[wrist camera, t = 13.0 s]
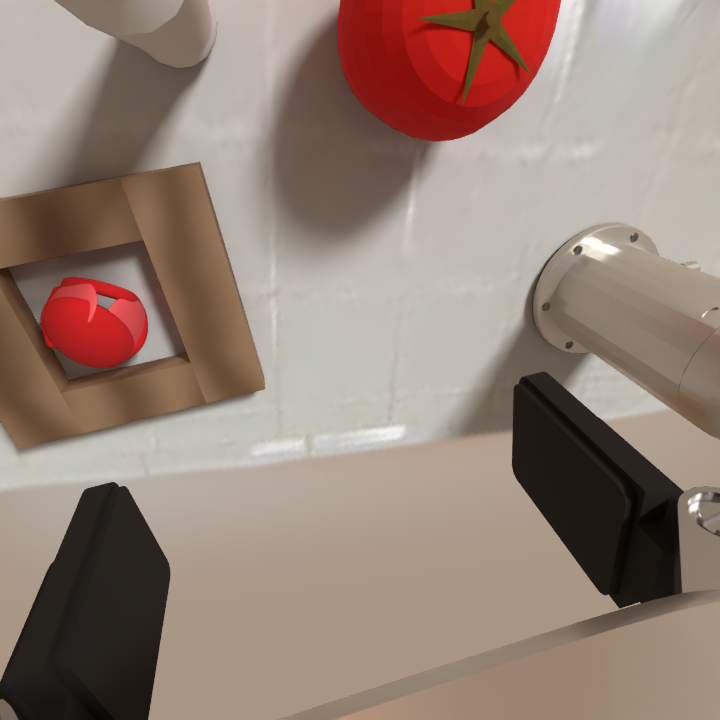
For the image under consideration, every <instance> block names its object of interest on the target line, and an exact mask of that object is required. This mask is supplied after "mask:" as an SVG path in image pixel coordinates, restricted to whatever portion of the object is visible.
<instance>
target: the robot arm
mask: <svg viewBox="0 0 720 720" xmlns="http://www.w3.org/2000/svg"><path fill="white" fill-rule="evenodd" d="M533 314H534V320H535V323H536V326H537V329H538V330H539V332H540V333H541V335H542V337H544V338H545V339H546V340H547V341H548V342H549V343H550V344H552V345H553V346H555V347H556V348H558V349H560V350H562V351H565V352H570V353H588V352H592V353H593V354H595V355H596V356H597V357H599V358H600V359H602V360H603V361H604V362H606V363H607V364H609V365H610V366H612V367H613V368H614V369H616V370H617V371H619V372H620V373H621V374H623V375H624V376H626V377H627V378H629V379H630V380H631V381H633V382H634V383H636V384H637V385H638V386H640V387H641V388H643V389H644V390H646V391H647V392H648V393H650V394H651V395H653V396H654V397H655V398H657V399H658V400H660V401H661V402H663V403H664V404H665V405H667V406H668V407H670V408H671V409H673V410H674V411H675V412H677V413H678V414H680V415H681V416H682V417H684V418H685V419H687V420H688V421H690V422H691V423H692V424H694V425H695V426H697V427H698V428H700V429H701V430H703V431H704V432H706V433H708V434H709V435H711V436H713V437H715V438H717V439H719V440H720V278H717V277H715V276H712V275H709V274H706V273H704V272H701V271H700V265H699V263H697V262H696V261H691V262H687V263H682V264H679V263H676V262H673V261H670V260H667V259H665V258H662V257H659V253H658V251H657V248H656V246H655V244H654V242H653V241H652V240H651V238H650V237H649V236H648V235H647V234H645V233H644V232H643V231H641V230H639V229H636V228H634V227H631V226H628V225H623V224H619V223H617V224H603V225H599V226H595V227H592V228H590V229H588V230H585V231H583V232H581V233H580V234H578V235H576V236H575V237H573V238H572V239H570V240H569V241H568V242H567V243H566V244H565V245H563V246H562V247H561V248H560V249H559V250H558V251H557V253H556V254H555V255H554V256H553V257H552V258H551V259H550V261H549V263H548V264H547V266H546V267H545V269H544V270H543V272H542V274H541V277H540V279H539V281H538V283H537V287H536V290H535V294H534V301H533ZM512 449H513V450H512V468H513V472H514V475H515V477H516V479H517V480H518V482H519V483H520V484H521V486H522V487H523V488H524V490H525V491H526V493H527V494H528V495H529V497H530V498H531V499H532V501H533V502H534V504H535V505H536V506H537V508H538V509H539V510H540V512H541V513H542V514H543V516H544V517H545V519H546V520H547V521H548V523H549V524H550V525H551V526H552V528H553V529H554V531H555V532H556V533H557V535H558V536H559V537H560V539H561V540H562V542H563V543H564V544H565V546H566V547H567V549H568V550H569V551H570V552H571V554H572V555H573V557H574V558H575V559H576V561H577V562H578V564H579V565H580V566H581V568H582V569H583V570H584V572H585V573H586V574H587V576H588V577H589V579H590V580H591V581H592V583H593V584H594V585H595V587H596V588H597V589H598V590H599V592H600V593H602V594H603V595H608V594H609V595H610V597H611V598H612V599H613V601H614V602H615V603H616V604H617V606H618V607H619V608H622V607H626V606H629V605H632V604H635V603H638V602H640V603H641V604H638V605H635V606H631V607H628V608H625V609H621V610H618V611H615V612H611V613H608V614H604V615H601V616H598V617H595V618H591V619H588V620H584V621H581V622H578V623H575V624H572V625H568V626H565V627H562V628H559V629H556V630H553V631H550V632H547V633H543V634H540V635H537V636H534V637H531V638H528V639H525V640H521V641H518V642H515V643H512V644H509V645H506V646H503V647H500V648H496V649H493V650H490V651H487V652H484V653H481V654H478V655H474V656H471V657H468V658H465V659H462V660H459V661H456V662H453V663H450V664H447V665H444V666H441V667H438V668H435V669H431V670H428V671H425V672H422V673H419V674H416V675H413V676H410V677H407V678H404V679H400V680H398V681H394V682H392V683H389V684H385V685H382V686H379V687H376V688H373V689H370V690H367V691H364V692H361V693H358V694H355V695H351V696H349V697H345V698H342V699H339V700H336V701H333V702H330V703H327V704H324V705H321V706H318V707H315V708H312V709H309V710H306V711H303V712H300V713H297V714H294V715H291V716H288V717H285V718H282V719H279V720H720V488H717V487H709V486H703V487H694V488H691V489H689V490H686V491H685V492H684V491H682V490H681V489H680V488H679V487H678V486H677V485H676V484H675V483H673V482H672V481H671V480H670V479H669V478H668V477H666V476H665V475H664V474H663V473H662V472H661V471H660V470H659V469H657V468H656V467H655V466H654V465H653V464H651V462H649V461H648V460H647V459H646V458H645V457H644V456H642V455H641V454H640V453H639V452H638V451H637V450H636V449H634V448H633V447H632V446H631V445H630V444H629V443H628V442H626V441H625V440H624V439H623V438H622V437H621V436H620V435H618V434H617V433H616V432H615V431H614V430H613V429H612V428H611V427H609V426H608V425H607V424H606V423H605V422H604V421H603V420H601V419H600V418H598V417H597V416H596V415H595V414H593V413H592V412H591V411H590V410H589V409H588V408H587V407H586V406H584V405H583V404H582V403H581V402H580V401H579V400H578V399H576V398H575V397H574V396H573V395H572V394H571V393H570V392H568V391H567V390H566V389H565V388H564V387H563V386H562V385H560V384H559V383H558V382H557V381H556V380H555V379H554V378H552V377H551V376H550V375H549V374H548V373H546V372H540V373H536V374H532V375H528V376H525V377H522V378H521V379H520V381H519V384H517V385H515V387H514V400H513V446H512ZM169 582H170V567H169V563H168V561H167V559H166V557H165V555H164V553H163V552H162V550H161V548H160V546H159V544H158V543H157V541H156V539H155V537H154V535H153V533H152V532H151V530H150V528H149V526H148V525H147V523H146V521H145V519H144V517H143V515H142V514H141V512H140V510H139V508H138V506H137V505H136V503H135V501H134V499H133V497H132V495H131V494H130V492H129V490H128V489H127V487H125V486H122V487H119V486H118V484H116V483H115V482H111V483H107V484H103V485H99V486H95V487H91V488H87V489H86V490H84V492H83V493H82V496H81V498H80V500H79V503H78V505H77V508H76V510H75V512H74V515H73V517H72V520H71V522H70V524H69V527H68V529H67V531H66V534H65V536H64V539H63V541H62V544H61V546H60V548H59V551H58V553H57V555H56V558H55V560H54V562H53V563H52V564H51V565H50V567H49V569H48V570H47V573H46V575H45V577H44V580H43V582H42V584H41V587H40V589H39V592H38V594H37V596H36V599H35V601H34V603H33V606H32V608H31V610H30V613H29V615H28V618H27V620H26V622H25V625H24V627H23V629H22V632H21V634H20V637H19V639H18V642H17V643H16V646H15V648H14V651H13V653H12V656H11V658H10V660H9V662H8V665H7V667H6V670H5V672H4V674H3V677H2V679H1V681H0V720H148V715H149V710H150V703H151V697H152V691H153V684H154V678H155V671H156V665H157V659H158V653H159V646H160V640H161V633H162V627H163V621H164V614H165V608H166V601H167V595H168V589H169Z"/></svg>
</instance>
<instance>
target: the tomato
mask: <svg viewBox="0 0 720 720" xmlns="http://www.w3.org/2000/svg"><path fill="white" fill-rule="evenodd" d="M560 4H561V0H341V1H340V8H339V16H338V23H337V34H338V52H339V56H340V60H341V65H342V69H343V73H344V75H345V77H346V79H347V81H348V83H349V85H350V88H351V90H352V92H353V93H354V94H355V96H356V97H357V98H358V99H359V100H360V102H361V103H362V104H363V105H364V106H365V108H367V109H368V110H369V111H370V112H372V113H373V114H374V115H376V116H377V117H378V118H379V119H381V120H382V121H384V122H385V123H387V124H388V125H390V126H391V127H393V128H394V129H396V130H398V131H400V132H402V133H404V134H406V135H408V136H411V137H414V138H419V139H424V140H430V141H446V140H454V139H458V138H461V137H464V136H467V135H469V134H472V133H474V132H476V131H478V130H479V129H481V128H482V127H484V126H485V125H487V124H488V123H490V122H491V121H493V120H494V119H496V118H497V117H498V116H500V115H501V114H502V113H504V112H505V111H506V110H507V109H509V108H510V107H511V106H512V105H513V104H514V103H515V102H516V101H517V100H518V99H519V98H520V97H521V96H522V95H523V94H524V92H525V91H526V89H527V88H528V86H529V85H530V83H531V82H532V80H533V79H534V78H535V76H536V74H537V72H538V70H539V68H540V66H541V64H542V62H543V60H544V58H545V56H546V54H547V51H548V49H549V46H550V43H551V40H552V37H553V34H554V31H555V27H556V22H557V18H558V13H559V8H560Z"/></svg>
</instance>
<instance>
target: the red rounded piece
mask: <svg viewBox="0 0 720 720" xmlns="http://www.w3.org/2000/svg"><path fill="white" fill-rule="evenodd" d="M97 294H99V295H103V296H106V297H110V298H113V299H116V300H117V301H115V302H114V303H113V304H112V306H111V307H110V308H109V310H107V309H105V308H103V307H101V306H99V305H97ZM41 328H42V332H43V335H44V338H45V341H46V344H47V345H48V346H49V347H50V348H58V349H59V350H60V351H61V352H62V353H63V354H65V355H66V356H67V357H69V358H70V359H72V360H74V361H76V362H78V363H80V364H83V365H86V366H90V367H95V368H108V367H113V366H116V365H119V364H121V363H122V362H124V361H125V360H126V359H129V358H131V357H132V356H133V355H134V354H135V353H137V352H138V351H139V350H140V349H141V348H142V346H143V345H144V343H145V341H146V338H147V333H148V321H147V315H146V311H145V308H144V306H143V305H142V303H141V301H140V300H139V298H138V297H137V296H136V295H135V294H134V293H133V292H131V291H129V290H126V289H123V288H121V287H118V286H115V285H111V284H108V283H104V282H101V281H97V280H92V279H85V278H65V279H64V280H63V281H62V282H61V286H58V287H55V288H54V289H53V291H52V293H51V295H50V296H49V298H48V300H47V302H46V304H45V306H44V308H43V310H42V313H41Z"/></svg>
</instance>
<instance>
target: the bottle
mask: <svg viewBox="0 0 720 720" xmlns="http://www.w3.org/2000/svg"><path fill="white" fill-rule="evenodd" d="M55 1H56V2H57V3H58V4H60V5H61V6H62V7H64V8H65V9H66V10H68V11H69V12H70V13H72V14H73V15H74V16H76V17H77V18H78V19H80V20H81V21H82V22H84V23H85V24H86V25H88V26H90V27H93V28H95V29H97V30H99V31H102V32H104V33H106V34H108V35H111V36H113V37H115V38H118V39H120V40H122V41H124V42H127V43H129V44H131V45H133V46H136V47H138V48H140V49H142V50H143V51H144V52H146V53H147V54H148V55H150V56H151V57H152V58H154V59H155V60H156V61H157V62H159V63H162V64H166V65H169V66H172V67H175V68H182V67H190V66H195V65H196V64H197V63H199V62H200V61H202V60H203V59H205V58H206V57H207V56H208V54H209V52H210V51H211V49H212V47H213V45H214V43H215V41H216V32H217V23H218V22H217V17H216V13H215V8H214V4H213V0H55Z"/></svg>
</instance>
